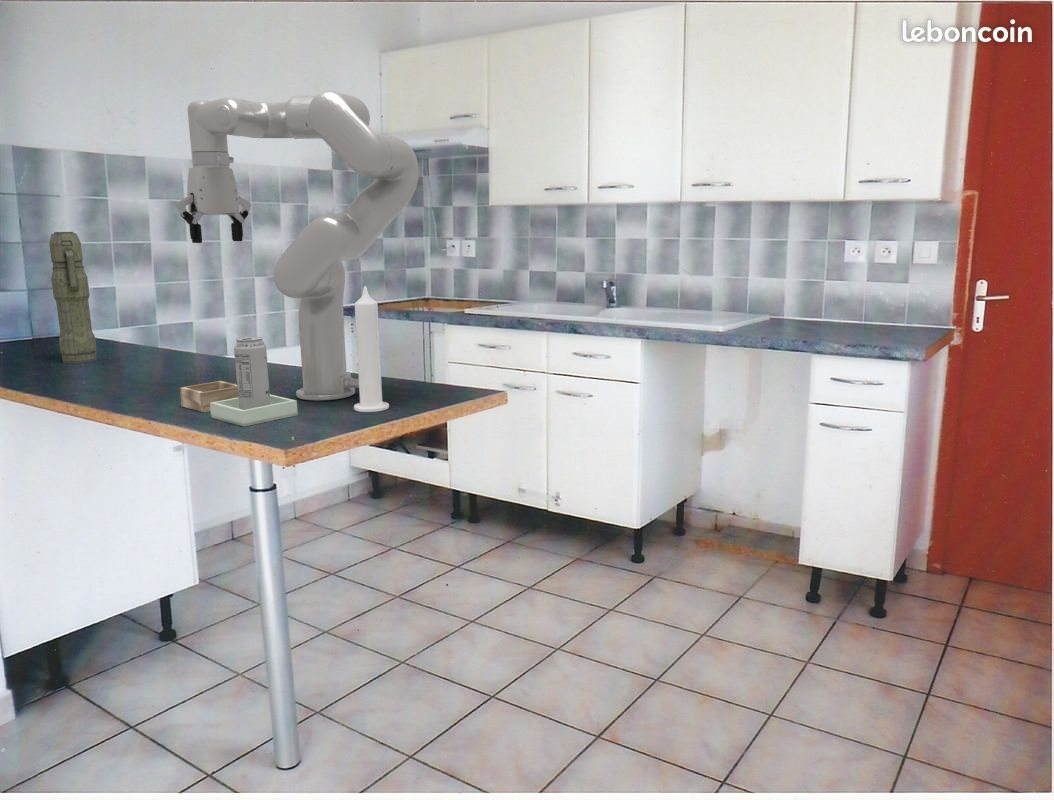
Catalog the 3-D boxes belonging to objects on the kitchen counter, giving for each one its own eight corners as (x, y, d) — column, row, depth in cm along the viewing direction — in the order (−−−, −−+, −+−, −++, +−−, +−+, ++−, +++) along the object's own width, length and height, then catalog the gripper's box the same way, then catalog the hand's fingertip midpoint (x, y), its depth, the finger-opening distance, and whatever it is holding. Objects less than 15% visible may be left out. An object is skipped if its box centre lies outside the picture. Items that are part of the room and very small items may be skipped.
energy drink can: (276, 413, 174) (270, 338, 171) (246, 418, 170) (239, 341, 167) (264, 408, 178) (258, 335, 175) (235, 412, 175) (228, 338, 172)
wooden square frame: (244, 404, 185) (242, 386, 184) (203, 412, 178) (201, 393, 177) (221, 398, 191) (219, 380, 190) (181, 406, 184) (179, 387, 183)
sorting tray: (297, 415, 175) (296, 400, 174) (243, 426, 166) (242, 411, 165) (264, 406, 182) (263, 392, 182) (211, 417, 174) (209, 402, 173)
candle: (377, 413, 175) (371, 288, 170) (347, 410, 178) (340, 287, 172) (395, 406, 182) (389, 284, 176) (365, 403, 184) (359, 284, 179)
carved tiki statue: (69, 365, 235) (52, 232, 228) (56, 360, 244) (39, 232, 236) (104, 361, 241) (88, 231, 234) (90, 356, 250) (74, 231, 242)
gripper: (237, 163, 198) (243, 240, 202) (163, 161, 185) (171, 243, 189) (255, 162, 193) (261, 240, 197) (181, 159, 180) (189, 244, 184)
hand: (217, 242), depth 193 cm, fingers open, 9 cm apart
